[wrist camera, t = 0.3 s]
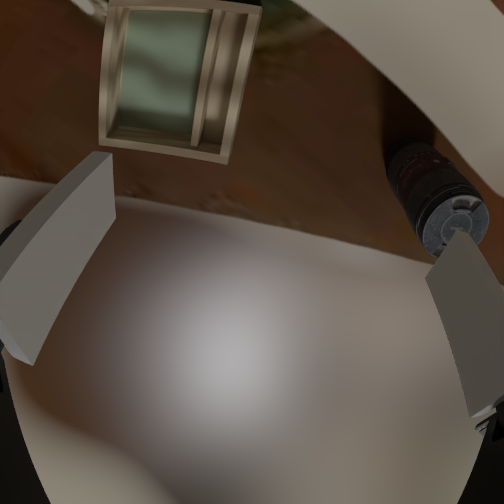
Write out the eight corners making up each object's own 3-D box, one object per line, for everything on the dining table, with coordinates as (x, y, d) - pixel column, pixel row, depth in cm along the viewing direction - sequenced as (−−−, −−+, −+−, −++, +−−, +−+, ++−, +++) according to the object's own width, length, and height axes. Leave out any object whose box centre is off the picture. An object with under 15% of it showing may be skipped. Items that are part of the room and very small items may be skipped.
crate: (125, 0, 24) (109, -2, 21) (262, 10, 25) (261, 6, 22) (113, 133, 35) (98, 144, 32) (231, 151, 37) (227, 164, 34)
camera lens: (379, 132, 33) (430, 192, 22) (436, 134, 32) (500, 192, 21) (377, 189, 38) (413, 265, 27) (429, 188, 37) (478, 259, 26)
